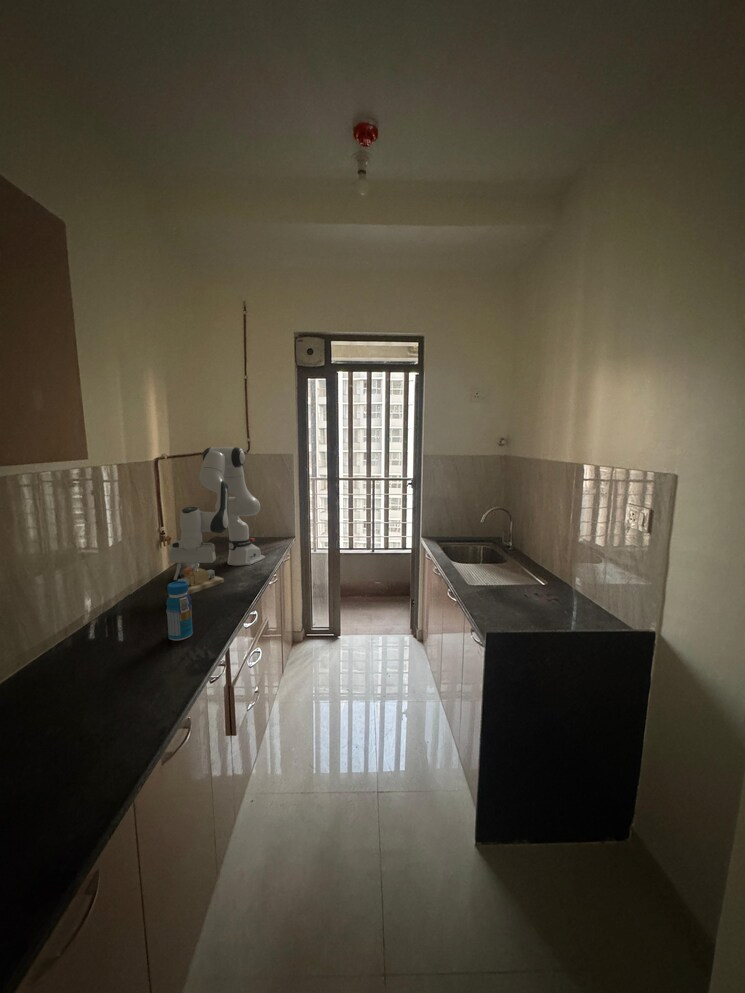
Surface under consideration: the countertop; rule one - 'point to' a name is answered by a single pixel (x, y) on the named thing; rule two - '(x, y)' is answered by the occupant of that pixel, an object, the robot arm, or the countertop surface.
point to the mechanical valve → (180, 571)
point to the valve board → (205, 585)
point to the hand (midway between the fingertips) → (193, 571)
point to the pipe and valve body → (199, 577)
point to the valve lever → (188, 571)
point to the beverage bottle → (179, 611)
